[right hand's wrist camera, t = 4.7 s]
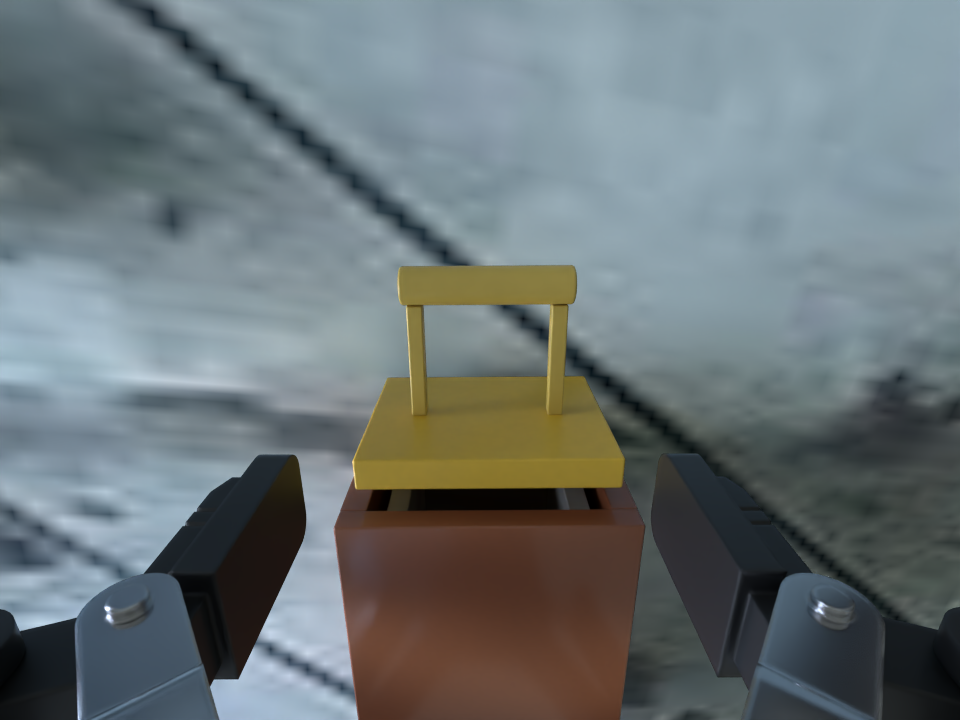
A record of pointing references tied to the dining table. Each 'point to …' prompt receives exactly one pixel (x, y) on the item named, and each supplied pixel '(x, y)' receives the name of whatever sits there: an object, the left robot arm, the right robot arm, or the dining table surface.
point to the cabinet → (489, 608)
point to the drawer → (487, 411)
